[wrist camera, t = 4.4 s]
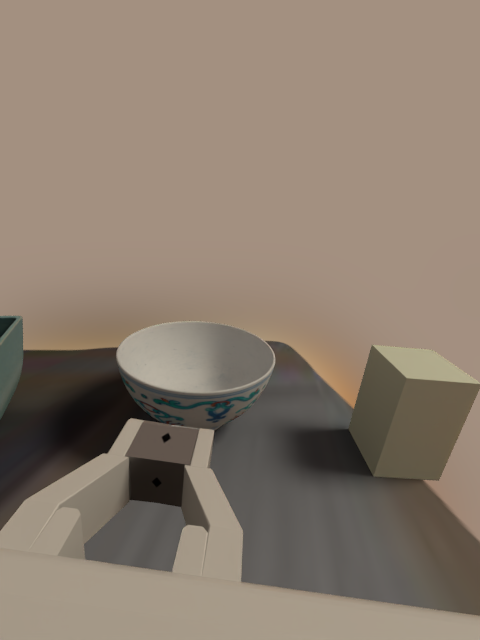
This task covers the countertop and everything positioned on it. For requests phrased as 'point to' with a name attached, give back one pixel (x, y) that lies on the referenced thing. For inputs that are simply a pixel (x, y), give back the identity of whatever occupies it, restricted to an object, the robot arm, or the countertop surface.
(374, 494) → the countertop surface
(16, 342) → the flower pot
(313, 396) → the countertop surface
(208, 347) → the chinaware
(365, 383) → the sage block
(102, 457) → the robot arm
